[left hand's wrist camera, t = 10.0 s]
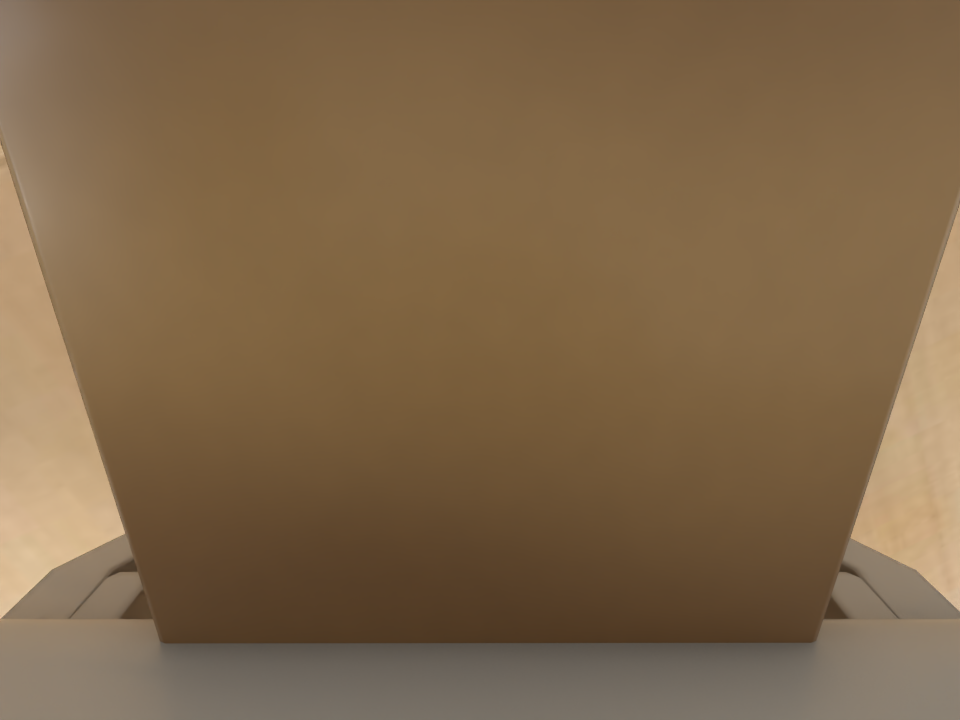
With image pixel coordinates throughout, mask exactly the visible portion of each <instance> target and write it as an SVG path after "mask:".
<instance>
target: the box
mask: <svg viewBox="0 0 960 720" xmlns="http://www.w3.org/2000/svg"><path fill="white" fill-rule="evenodd" d="M0 142H1V145H2V148H3V151H4V154H5V158H6V161H7V164H8V167H9V170H10V173H11V176H12V180H13V183H14V186H15V189H16V192H17V195H18V198H19V201H20V205H21V208H22V211H23V214H24V217H25V220H26V223H27V226H28V230H29V233H30V236H31V239H32V242H33V245H34V248H35V252H36V255H37V258H38V261H39V264H40V267H41V270H42V273H43V277H44V280H45V283H46V286H47V289H48V292H49V295H50V299H51V302H52V305H53V308H54V311H55V314H56V317H57V320H58V324H59V327H60V330H61V333H62V336H63V339H64V342H65V345H66V349H67V352H68V355H69V358H70V361H71V364H72V367H73V371H74V374H75V377H76V380H77V383H78V386H79V389H80V392H81V396H82V399H83V402H84V405H85V408H86V411H87V414H88V418H89V421H90V424H91V427H92V430H93V433H94V436H95V439H96V443H97V446H98V449H99V452H100V455H101V458H102V461H103V464H104V468H105V471H106V474H107V477H108V480H109V483H110V486H111V490H112V493H113V496H114V499H115V502H116V505H117V508H118V511H119V515H120V518H121V521H122V524H123V527H124V530H125V533H126V537H127V540H128V543H129V546H130V549H131V552H132V555H133V558H134V562H135V565H136V568H137V571H138V574H139V577H140V580H141V583H142V587H143V590H144V593H145V596H146V599H147V602H148V605H149V609H150V612H151V615H152V618H153V621H154V624H155V627H156V630H157V634H158V637H159V640H160V642H163V643H812V642H815V641H816V640H817V637H818V634H819V631H820V628H821V625H822V622H823V619H824V616H825V613H826V610H827V606H828V603H829V600H830V597H831V594H832V591H833V588H834V585H835V582H836V579H837V576H838V573H839V570H840V567H841V564H842V561H843V558H844V555H845V552H846V549H847V546H848V542H849V539H850V536H851V533H852V530H853V527H854V524H855V521H856V518H857V515H858V512H859V509H860V506H861V503H862V500H863V497H864V494H865V491H866V488H867V485H868V482H869V478H870V475H871V472H872V469H873V466H874V463H875V460H876V457H877V454H878V451H879V448H880V445H881V442H882V439H883V436H884V433H885V430H886V427H887V424H888V421H889V418H890V414H891V411H892V408H893V405H894V402H895V399H896V396H897V393H898V390H899V387H900V384H901V381H902V378H903V375H904V372H905V369H906V366H907V363H908V360H909V357H910V354H911V351H912V347H913V344H914V341H915V338H916V335H917V332H918V329H919V326H920V323H921V320H922V317H923V314H924V311H925V308H926V305H927V302H928V299H929V296H930V293H931V290H932V287H933V283H934V280H935V277H936V274H937V271H938V268H939V265H940V262H941V259H942V256H943V253H944V250H945V247H946V244H947V241H948V238H949V235H950V232H951V229H952V226H953V223H954V219H955V216H956V213H957V210H958V207H959V204H960V0H0Z"/></svg>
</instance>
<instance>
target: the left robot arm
mask: <svg viewBox="0 0 960 720" xmlns="http://www.w3.org/2000/svg"><path fill="white" fill-rule="evenodd" d="M0 720H960V612H959V611H958V610H957V609H956V608H955V607H954V606H953V605H952V604H951V603H950V602H949V601H948V600H947V599H946V598H945V597H944V596H943V595H942V594H940V593H939V592H938V591H937V590H936V589H935V588H934V587H933V586H932V585H931V584H930V583H929V582H928V581H927V580H926V579H925V578H924V577H923V576H922V575H920V574H919V573H918V572H917V571H916V570H914V569H912V568H910V567H908V566H906V565H904V564H902V563H900V562H898V561H896V560H894V559H892V558H890V557H888V556H885V555H883V554H881V553H879V552H877V551H875V550H873V549H871V548H869V547H867V546H865V545H863V544H861V543H859V542H857V541H855V540H853V539H851V538H850V539H849V542H848V546H847V549H846V552H845V555H844V558H843V561H842V564H841V567H840V570H839V573H838V576H837V579H836V582H835V585H834V588H833V591H832V594H831V597H830V600H829V603H828V606H827V610H826V613H825V616H824V619H823V622H822V625H821V628H820V631H819V634H818V637H817V640H816V641H815V642H812V643H163V642H160V640H159V637H158V634H157V630H156V627H155V624H154V621H153V618H152V615H151V612H150V609H149V605H148V602H147V599H146V596H145V593H144V590H143V587H142V583H141V580H140V577H139V574H138V571H137V568H136V565H135V562H134V558H133V555H132V552H131V549H130V546H129V543H128V540H127V537H126V534H124V535H122V536H120V537H118V538H116V539H114V540H112V541H110V542H108V543H105V544H103V545H101V546H99V547H97V548H95V549H93V550H91V551H89V552H87V553H85V554H83V555H81V556H79V557H77V558H75V559H73V560H71V561H69V562H67V563H65V564H63V565H61V566H59V567H57V568H55V569H53V570H51V571H50V572H49V573H48V574H47V575H46V576H45V577H44V578H43V579H42V580H41V581H40V582H39V583H38V584H37V585H36V586H35V587H34V588H33V589H31V590H30V591H29V592H28V593H27V594H26V595H25V596H24V597H23V598H22V599H21V600H20V601H19V602H18V603H17V604H16V605H15V606H14V607H13V608H12V609H11V610H10V611H9V612H7V613H6V614H5V615H4V616H3V617H2V618H1V619H0Z"/></svg>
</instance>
